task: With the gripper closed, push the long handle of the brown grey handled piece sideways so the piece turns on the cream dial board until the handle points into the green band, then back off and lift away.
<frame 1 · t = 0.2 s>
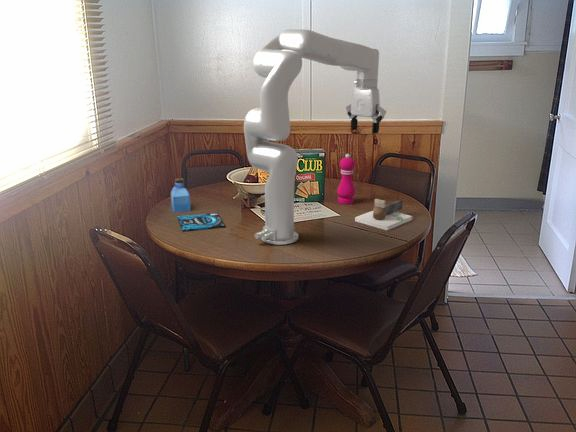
hand: (364, 131, 199), 31 cm above the table, tool pointing down, fingers open, 9 cm apart
dial board: (383, 220, 197), on the table
perfume bottle: (181, 209, 208), on the table
brown grey handled piece: (389, 205, 197), point 5 cm above the table, hinge at 0.0°
guitar string package: (201, 224, 194), on the table
pepper mill: (345, 202, 219), on the table
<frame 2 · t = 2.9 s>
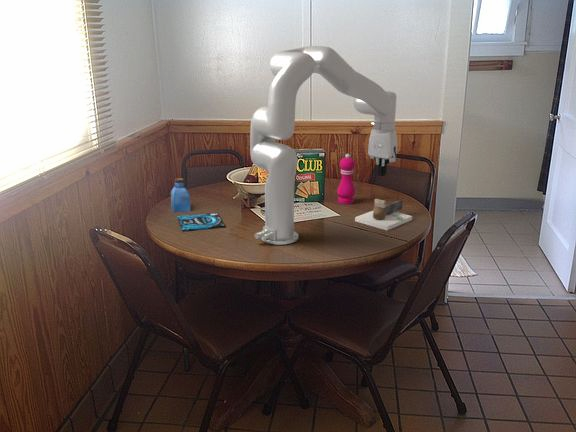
hand: (381, 175, 201), 15 cm above the table, tool pointing down, fingers closed
nothing on the table moved.
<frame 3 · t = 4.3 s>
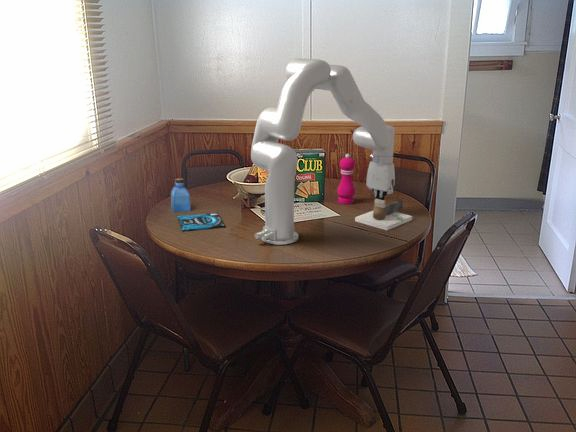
hand: (379, 206, 205), 3 cm above the table, tool pointing down, fingers closed
nothing on the table moved.
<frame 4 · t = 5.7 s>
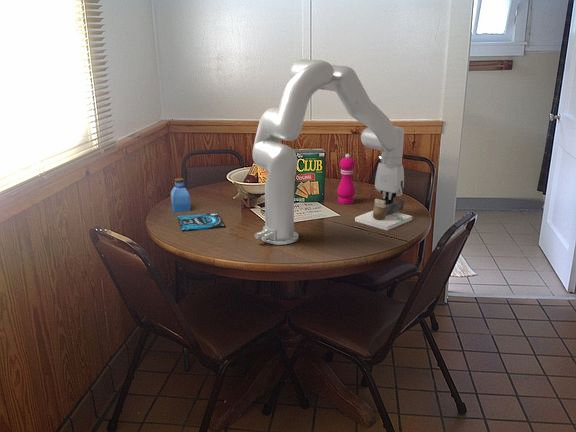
hand: (388, 208, 202), 3 cm above the table, tool pointing down, fingers closed
brown grey handled piece: (389, 205, 197), point 5 cm above the table, hinge at -2.4°, touching gripper
everything else where it was.
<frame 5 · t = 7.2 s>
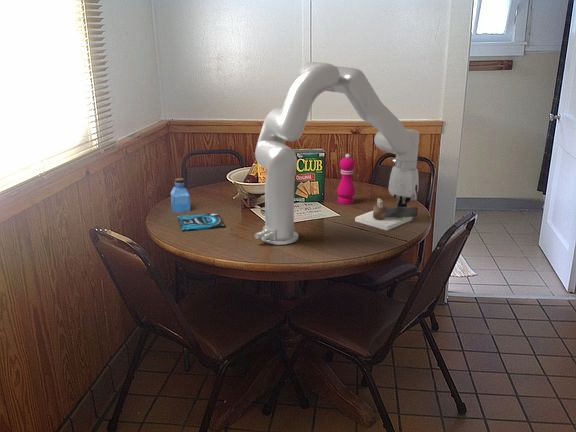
hand: (401, 212, 198), 2 cm above the table, tool pointing down, fingers closed
brown grey handled piece: (395, 208, 194), point 5 cm above the table, hinge at -40.6°, touching gripper
everything else where it was.
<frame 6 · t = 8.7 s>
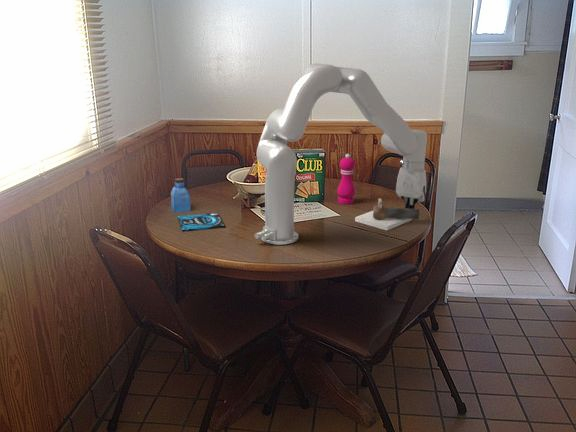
hand: (409, 214, 196), 3 cm above the table, tool pointing down, fingers closed
brown grey handled piece: (396, 209, 193), point 5 cm above the table, hinge at -51.4°, touching gripper
everything else where it was.
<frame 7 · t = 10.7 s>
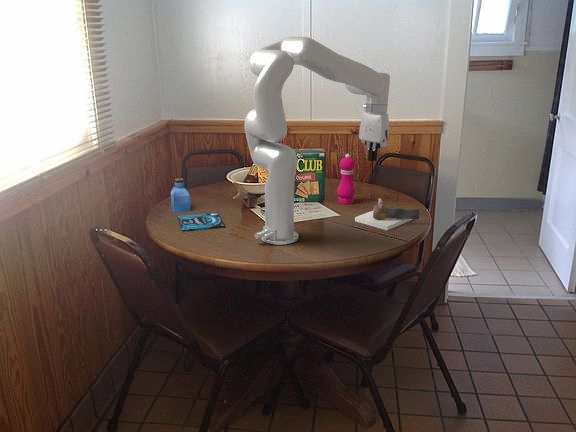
hand: (372, 160, 193), 22 cm above the table, tool pointing down, fingers closed
brown grey handled piece: (396, 209, 193), point 5 cm above the table, hinge at -51.6°
everything else where it was.
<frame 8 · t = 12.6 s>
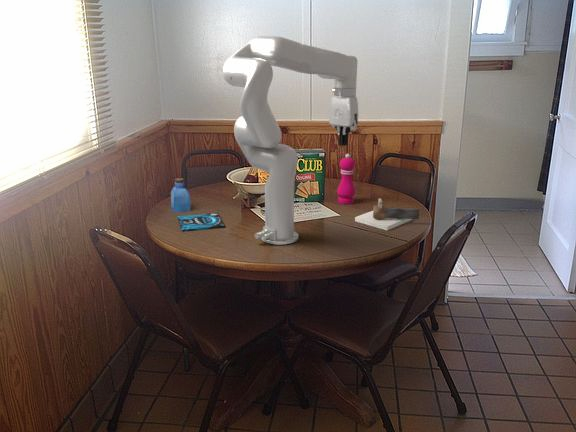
hand: (342, 145, 192), 27 cm above the table, tool pointing down, fingers closed
nothing on the table moved.
at the end: brown grey handled piece at -52° (first picture: +0°); brown grey handled piece touching nothing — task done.
